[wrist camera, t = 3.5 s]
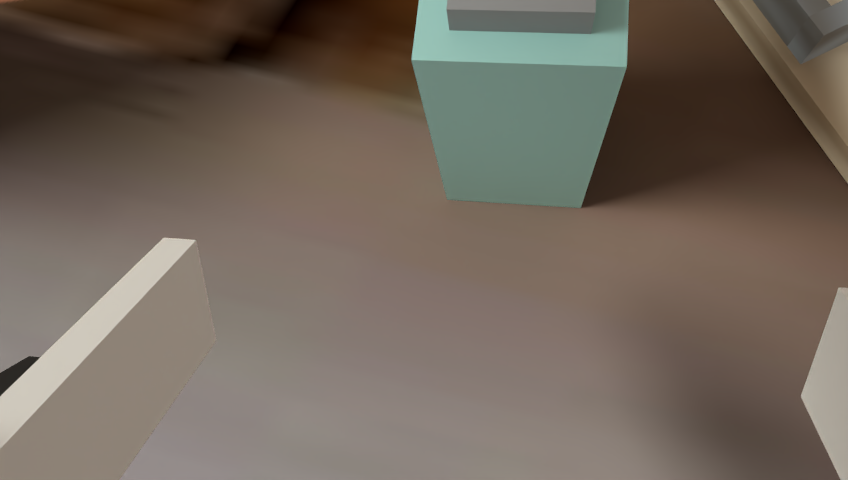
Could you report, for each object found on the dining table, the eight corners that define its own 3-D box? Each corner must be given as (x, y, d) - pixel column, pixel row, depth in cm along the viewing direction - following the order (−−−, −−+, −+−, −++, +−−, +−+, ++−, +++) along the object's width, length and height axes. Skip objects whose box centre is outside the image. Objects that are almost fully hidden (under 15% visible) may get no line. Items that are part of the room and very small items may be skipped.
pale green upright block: (580, 207, 30) (633, 46, 17) (447, 199, 31) (406, 40, 18) (586, 87, 31) (638, -140, 19) (459, 82, 32) (429, -138, 20)
